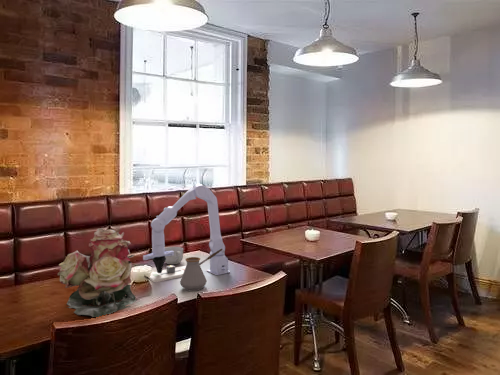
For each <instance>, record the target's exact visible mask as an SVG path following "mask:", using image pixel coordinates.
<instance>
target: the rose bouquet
mask: <svg viewBox="0 0 500 375" xmlns="http://www.w3.org/2000/svg"><path fill="white" fill-rule="evenodd" d="M124 235H125V232H124V231H123V232H122V233H121V234H120V233H119V231H116V230H114V229H111V228H110V229H109V228H108V229H105V228H103V227H101V228H97V230H96V231H94V233H93V238H91V239H89V242H88V248H89V249H90V251H91V255H85V254H82V253H80V252H79V251H78V250H75V251H74V252H71V253H68V254H67V256H65V259H64V260H63V262H61V263H59V264H58V266H59V272H58V273H57V276H59V282H60V284H61V285H65V286H64V288H66V289H68V288H69V289H70V288H72V287H76V286H77V289H76V290H75V291H73V292H72V293H71V294H70V295H69V297H68V300H67V302H66V305H67V306H68V307H66V308H69V309H75V310H74V311H73V313H74V314H76V315H77V316H81V315H82V316H90V317H92V318H93V317H99V316H102V315H106V314H110V315H111V313H112V314H113V312H114V313H115V312H117V311H120V310H123V309H127V308H131V307H132V306H131V305H133V304H134V303H136V302H137V301H138V300H137V299H136V295H135V294H133V291H132V289H131V287H132V284H131V282H132V279H131V272H132V268H133V262H132V261H131V258H133V257H134V256H135V254H131V252H130V249H129V248H128V246H129V245H132V244H133V242H130V240H125V239H123V237H124ZM130 254H131V255H130ZM118 301H119V302H118ZM127 305H129V306H127Z"/></svg>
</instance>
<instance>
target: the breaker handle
mask: <svg viewBox="0 0 500 375" xmlns="http://www.w3.org/2000/svg"><path fill="white" fill-rule="evenodd" d="M175 268H176V266H175V265H174V264H168V265H166V269H167V272H168V273H173V272H175Z"/></svg>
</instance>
